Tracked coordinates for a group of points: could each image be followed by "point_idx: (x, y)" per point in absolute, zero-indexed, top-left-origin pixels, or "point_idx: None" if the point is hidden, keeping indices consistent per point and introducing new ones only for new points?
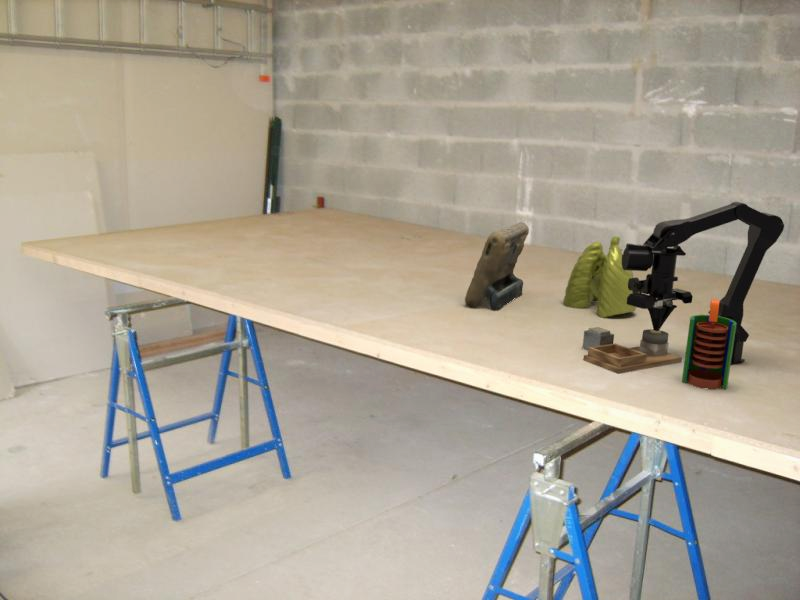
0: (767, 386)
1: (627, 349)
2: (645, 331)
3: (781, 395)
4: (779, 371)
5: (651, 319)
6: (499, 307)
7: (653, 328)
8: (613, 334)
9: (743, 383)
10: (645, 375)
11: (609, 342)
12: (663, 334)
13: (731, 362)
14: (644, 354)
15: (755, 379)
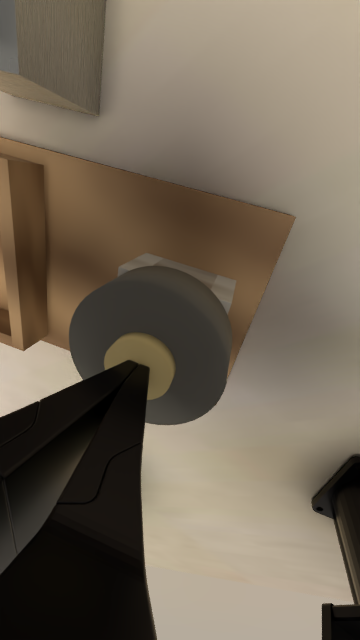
0: (188, 547)
1: (6, 261)
2: (110, 303)
3: (156, 557)
4: (346, 583)
5: (53, 397)
6: None
7: (120, 364)
8: (12, 71)
9: (166, 517)
10: (8, 352)
11: (28, 88)
12: (148, 405)
13: (319, 512)
14: (14, 344)
15: (219, 537)
